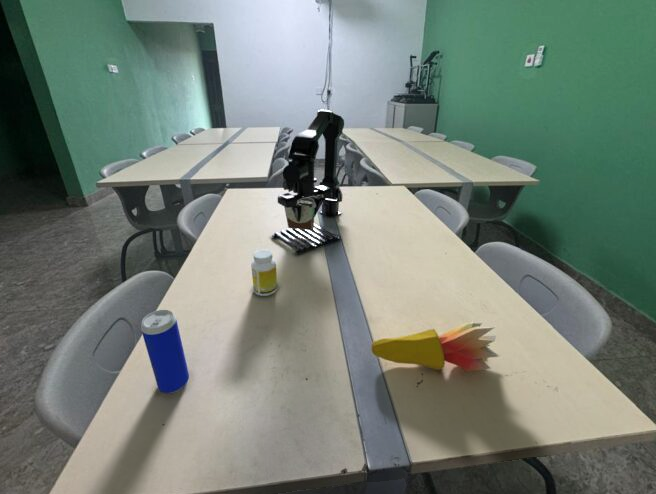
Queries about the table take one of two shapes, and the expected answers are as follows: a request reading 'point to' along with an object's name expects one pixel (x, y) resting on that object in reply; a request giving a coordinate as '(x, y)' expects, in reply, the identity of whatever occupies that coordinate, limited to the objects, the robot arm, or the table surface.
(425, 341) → the torch
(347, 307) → the table surface
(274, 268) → the pill bottle
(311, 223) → the food container
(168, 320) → the beverage can
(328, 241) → the drying rack
